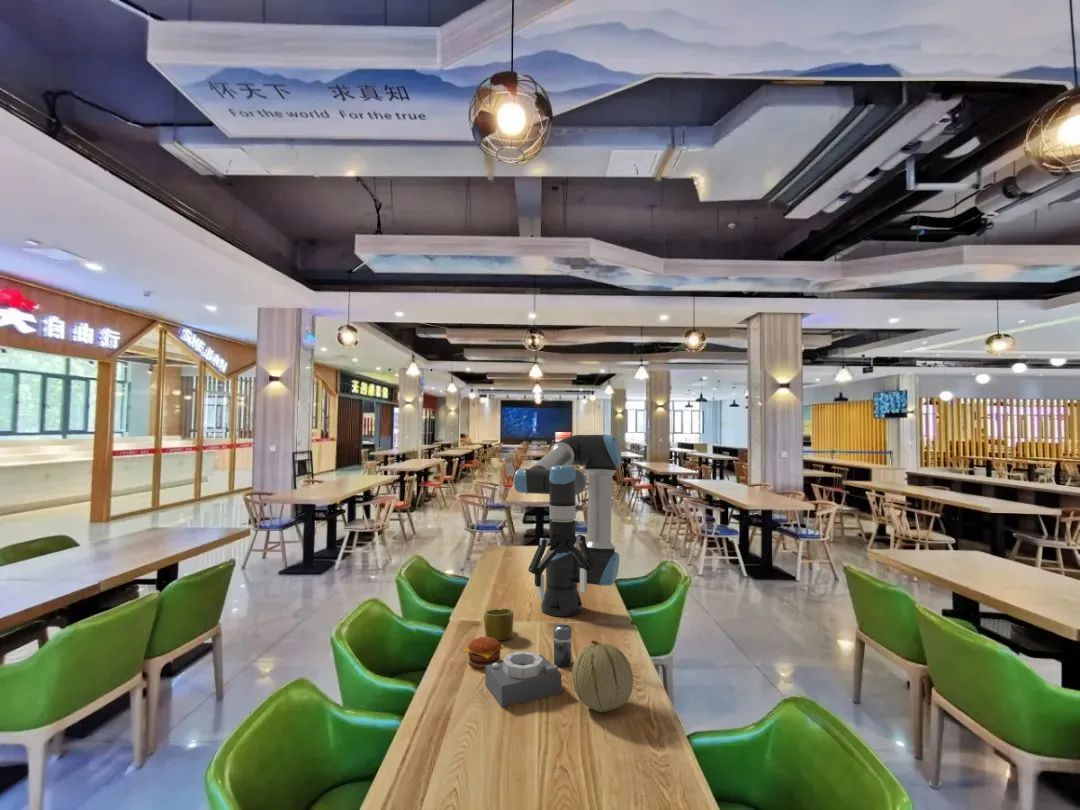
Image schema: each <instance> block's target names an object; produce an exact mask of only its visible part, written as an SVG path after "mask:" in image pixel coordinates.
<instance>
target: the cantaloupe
mask: <svg viewBox="0 0 1080 810" xmlns="http://www.w3.org/2000/svg"><path fill="white" fill-rule="evenodd" d="M590 643H591V644H592V645H589V646H586V647H585V648H583V649H582V650H581V651H580V652H579V653H578V655H576V657H575V660H574V663H573V665H572V671H571V676H572V678H571V679H572V686H573V688H574V691H575V694H576V696H577V698H578V699H579V700H580V702H581V703H583V705H585V707H588V709H591V710H592V711H596V712H599V713H605V712H611V711H613V710H617V709H619V708H621V707H622V706H624V705H625V704H626V703H627V702H628V701H629V699H630V697H631V695H632V691H633V688H634V675H633V671H632V670H633V669H632V666H631V663H630V662H629V659H627V657H626V656H625V654H624V652H623V651H621V650H620V649H619V648H618V647H616V646H615V645H611V644H607V643H599V641H597V640H593V639H592V640H591V642H590Z"/></svg>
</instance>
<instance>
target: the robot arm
mask: <svg viewBox="0 0 1080 810" xmlns="http://www.w3.org/2000/svg"><path fill="white" fill-rule="evenodd" d="M621 465H622V451H621V445H620V442H619V439H618V437H616V436H615V435H613V434H612V435H611V434H610V435H609V434H574V435H570V436H568V437H565V438H563V439H561V440H558V441H557V442H555V443H554V444H553V445H552V446H551V448H550V450H549V452H548V453H547V454H545V455H544V456H543V457H541V459H539V460H538V461H537V462H536V463H535V464H533V465H532V466H531V467H530V468H518V469H517V470H516V471H515V473H514V475H513V487H514V489H515V491H516V492H517V493H520V494H521V493H522V494H526V495H527V494H530V495H531V494H534V495H535V494H537V495H549V519H550V520H549V522H548V523H549V524H548V525H549V526H548V527H549V531H548V533H549V537H548V538H543V537H540V538H539V539H538V546H537V549H536V551H535V554H534V555H533V558H532V559H531V562H530V564H529V567H528V568H527V570H528V572H529V573H531V574H533V575H534V586H536V587H537V593H536V594H537V598H538V599H540V600H541V605H540V606H541V607H540V610H541V612H542V613H544V614H546V615H548V616H552V617H573V616H577V615H579V614H581V613H582V611H583V602H582V599H581V595H580V592H581V593H583V594H588V593H587V591H588V590H587V589H588V588H587V587H588V585H594V586H600V587H601V586H607V587H609V586H612V585H614V583H615V582H616V579H617V577H618V572H619V567H620V566H619V565H620V554H619V552H616V548H615V546H614V544H613V543H612V542H611V540H612V504H613V503H612V502H613V501H612V498H613V497H612V496H613V495H612V492H613V476H614V474H616V473H617V468H619V467H621ZM575 466H585V467H584V471H585V472H586V473H587V474H588V479H587V477H586V475H585V473H584V472H583V471H581V470H580V469H576V467H575ZM587 482H588V483H587ZM587 484H588V485H587ZM587 486H588V497H587V499H588V500H587V502H588V503H587V530H586V531H587V532H586V535H587V537H586V536H585V535H582V534H577V536H576V532H577V531H576V530H577V528H576V527H577V526H576V525H577V524H576V521H575V519H576V518H577V517H576V516H577V515H576V502H577V501H576V500H577V499H576V496H577V495H579V494H581V493H583V491H584V490H585V489H586V487H587ZM576 543H578V546H579V547H578V546H577V544H576ZM548 545H549V546H548ZM547 547H549V548H547ZM546 548H547V549H546ZM579 548H580V549H579ZM544 553H545V555H544ZM544 571H545V575H544V574H543V573H544ZM578 584H579V590H578Z"/></svg>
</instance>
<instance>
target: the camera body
mask: <svg viewBox="0 0 1080 810" xmlns="http://www.w3.org/2000/svg"><path fill="white" fill-rule="evenodd" d="M485 687H486V688H487V689H488V691H489V692H490V693H491V695H492V696H493V698H494V699H495V701H496V702H497V703H498V704H499V706H500V707H501V708H506V707H511V706H514V705H519V704H521V703H522V704H523V703H526V702H531V701H535V700H539V699H544V698H548V697H553V696H558V695H562V673H561V671H559V667H557V666H556V665H555V664H554V663H551V662H550V661H549V660H547V658H546V657H544V656H543V655H542V654H538V653H536V652H531V651H525V650H523V651H521V650H520V651H515V652H511V653H508V654H507V655H505V657H504V658H503V659H502V662H500V663H493V664H491V665H486V669H485Z"/></svg>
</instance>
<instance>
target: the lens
mask: <svg viewBox="0 0 1080 810" xmlns="http://www.w3.org/2000/svg"><path fill="white" fill-rule="evenodd" d="M572 640H573V639H572V627H571V626H570V625H569V624H557V625H554V627H553V664H555V665H556V666H557V667H558V668H561V669H564V668H569V667H571V666H572Z"/></svg>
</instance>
